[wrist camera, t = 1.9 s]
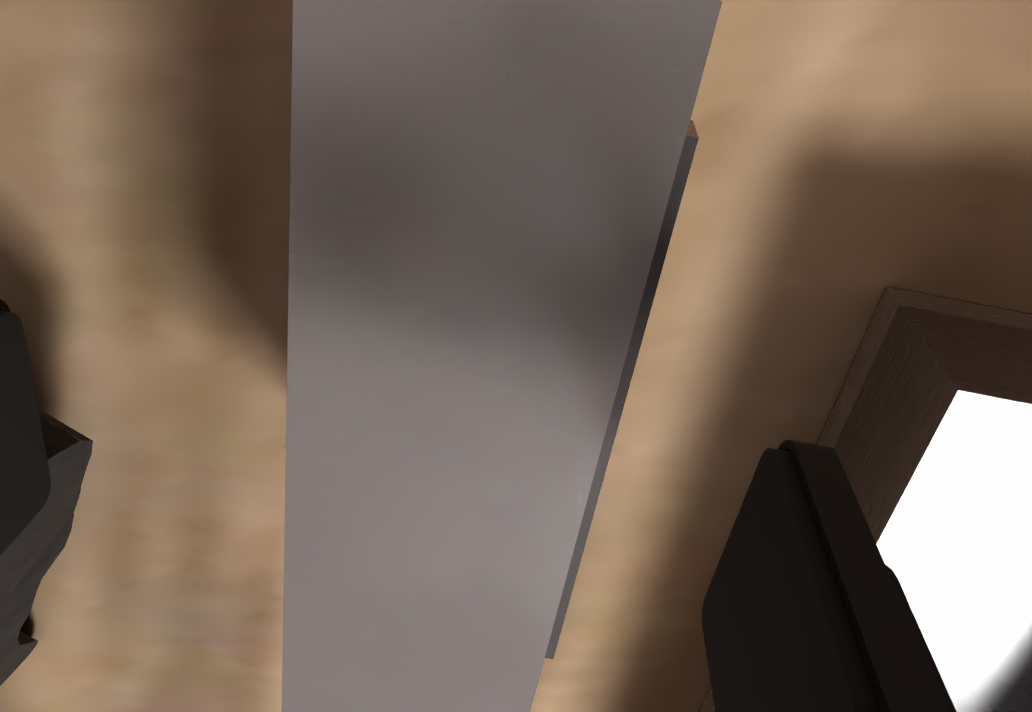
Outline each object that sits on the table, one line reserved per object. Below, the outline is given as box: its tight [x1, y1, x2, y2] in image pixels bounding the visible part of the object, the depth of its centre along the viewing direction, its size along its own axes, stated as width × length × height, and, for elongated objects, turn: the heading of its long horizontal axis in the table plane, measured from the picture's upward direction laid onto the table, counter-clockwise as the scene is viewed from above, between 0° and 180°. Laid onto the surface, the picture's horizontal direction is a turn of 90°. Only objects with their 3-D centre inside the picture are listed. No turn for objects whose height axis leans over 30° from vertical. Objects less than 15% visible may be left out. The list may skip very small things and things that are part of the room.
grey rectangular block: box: [282, 0, 722, 712], centre depth 13 cm, size 4×12×7 cm, turn 171°
